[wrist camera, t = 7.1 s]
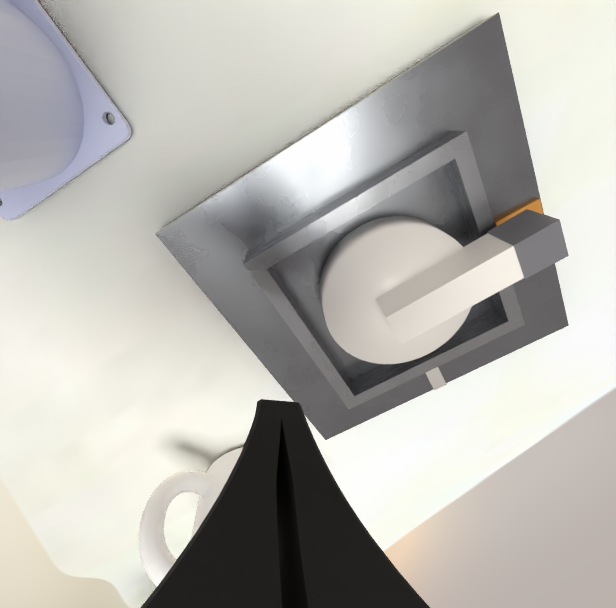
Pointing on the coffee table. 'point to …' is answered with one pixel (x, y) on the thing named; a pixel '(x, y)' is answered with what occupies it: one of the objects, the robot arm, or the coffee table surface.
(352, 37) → the coffee table surface
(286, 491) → the robot arm
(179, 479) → the mug
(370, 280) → the dial
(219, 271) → the panel
